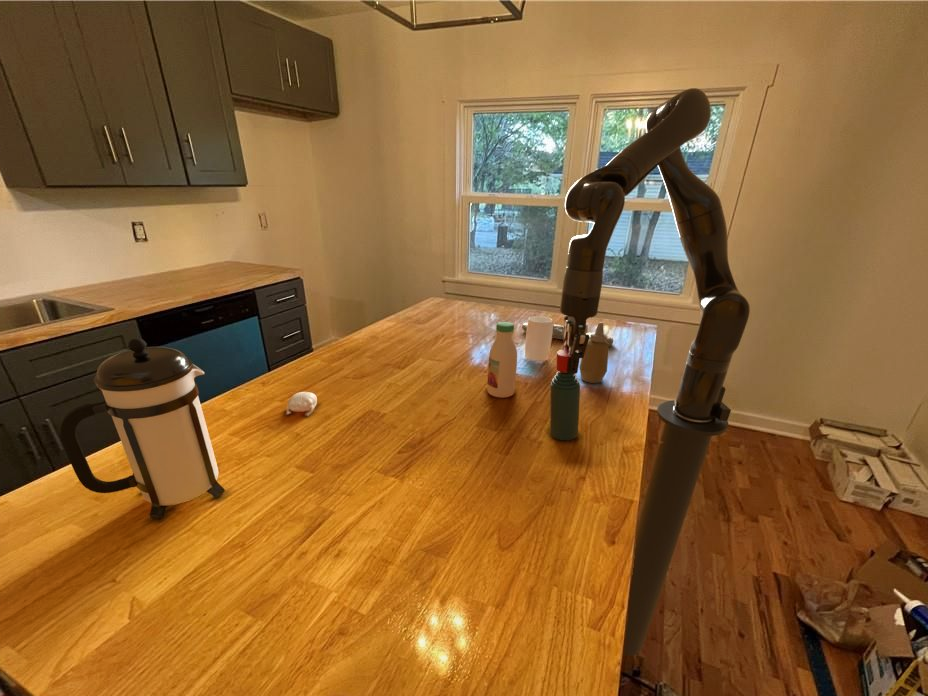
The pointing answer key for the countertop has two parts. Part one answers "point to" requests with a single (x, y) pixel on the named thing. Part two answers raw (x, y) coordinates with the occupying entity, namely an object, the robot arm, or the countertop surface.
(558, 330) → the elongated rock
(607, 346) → the squeeze bottle
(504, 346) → the milk bottle
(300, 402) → the white turtle figurine
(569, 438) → the water bottle
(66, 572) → the countertop surface
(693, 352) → the robot arm
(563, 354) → the cap
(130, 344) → the coffee press
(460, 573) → the countertop surface
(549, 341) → the cup
